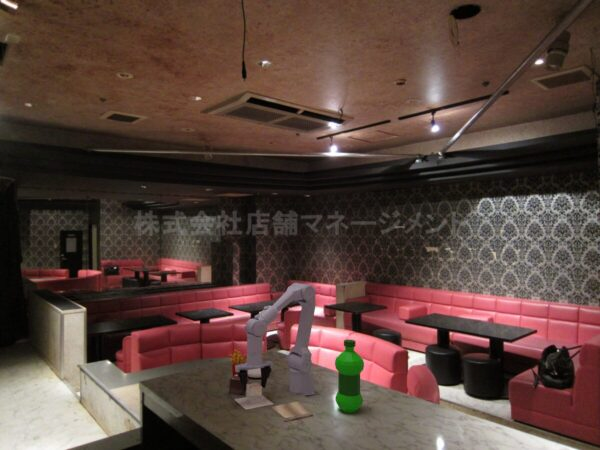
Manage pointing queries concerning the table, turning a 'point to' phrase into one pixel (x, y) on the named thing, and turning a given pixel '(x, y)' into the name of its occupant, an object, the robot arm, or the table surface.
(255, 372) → the flower in vase
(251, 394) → the block
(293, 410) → the stand
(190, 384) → the table surface
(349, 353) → the plastic bottle
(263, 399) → the stand
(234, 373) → the french fries
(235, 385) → the box
